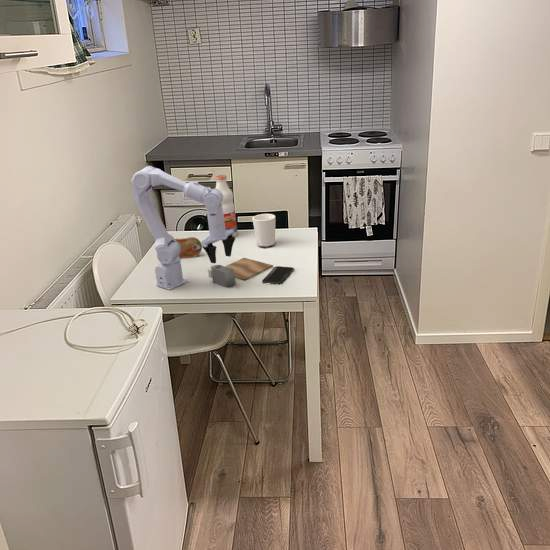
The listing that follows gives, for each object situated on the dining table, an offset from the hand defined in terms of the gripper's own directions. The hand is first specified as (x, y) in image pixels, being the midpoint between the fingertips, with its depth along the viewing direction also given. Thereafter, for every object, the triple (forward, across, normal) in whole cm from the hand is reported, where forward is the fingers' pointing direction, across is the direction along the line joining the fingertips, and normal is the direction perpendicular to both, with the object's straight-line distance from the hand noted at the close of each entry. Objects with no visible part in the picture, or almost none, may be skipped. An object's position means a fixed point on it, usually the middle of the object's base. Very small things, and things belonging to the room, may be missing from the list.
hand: (220, 259), depth 207 cm
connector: (+10, 0, 0) cm, 10 cm away
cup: (+10, +39, +13) cm, 42 cm away
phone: (+10, +16, -13) cm, 23 cm away
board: (+10, +14, +3) cm, 17 cm away
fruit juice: (+10, +39, +38) cm, 55 cm away
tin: (+10, +11, +35) cm, 38 cm away
